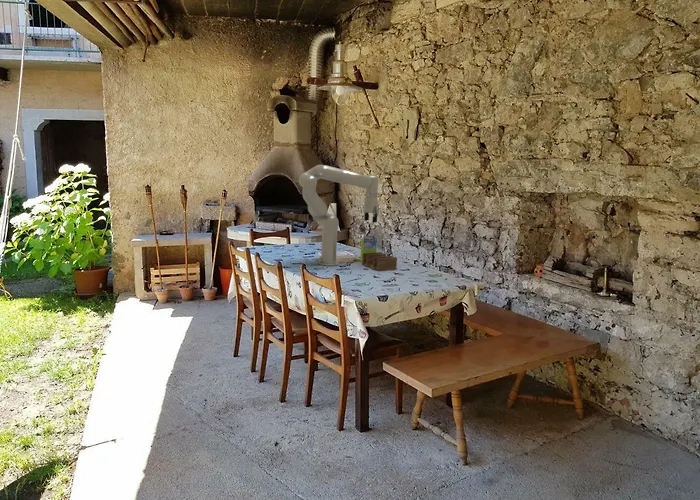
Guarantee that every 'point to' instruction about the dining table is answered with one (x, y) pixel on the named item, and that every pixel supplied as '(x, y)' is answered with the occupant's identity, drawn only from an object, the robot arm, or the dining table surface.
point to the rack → (379, 261)
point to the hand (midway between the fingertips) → (370, 221)
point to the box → (368, 245)
